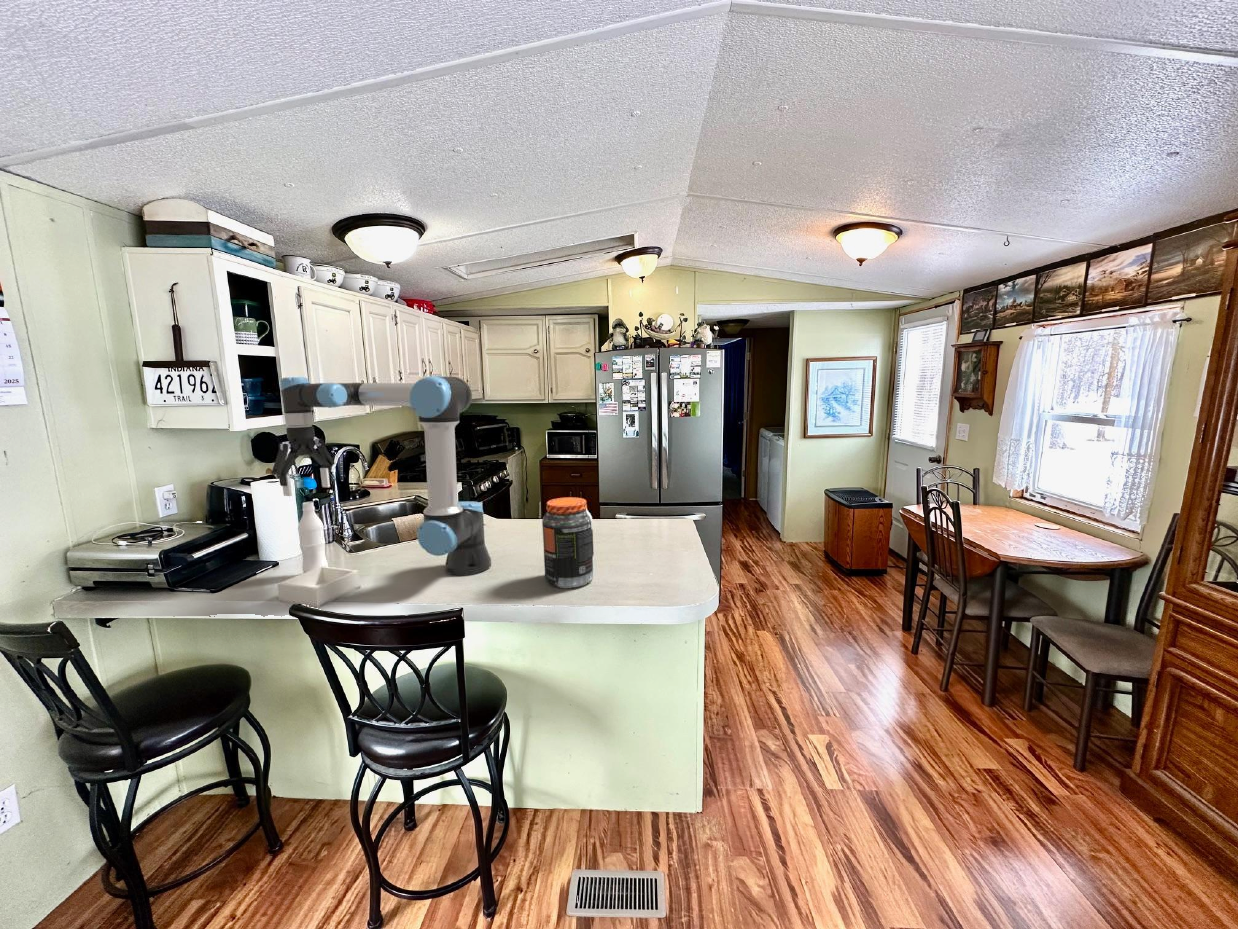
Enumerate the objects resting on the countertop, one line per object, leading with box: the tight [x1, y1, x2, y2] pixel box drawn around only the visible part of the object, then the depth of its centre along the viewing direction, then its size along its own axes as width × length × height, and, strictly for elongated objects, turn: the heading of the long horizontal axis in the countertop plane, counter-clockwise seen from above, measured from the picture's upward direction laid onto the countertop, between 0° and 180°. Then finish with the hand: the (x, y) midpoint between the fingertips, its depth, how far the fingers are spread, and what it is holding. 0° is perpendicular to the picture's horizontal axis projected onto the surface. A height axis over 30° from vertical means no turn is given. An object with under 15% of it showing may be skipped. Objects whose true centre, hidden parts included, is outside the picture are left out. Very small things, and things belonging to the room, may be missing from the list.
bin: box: [277, 566, 361, 609], centre depth 151 cm, size 15×15×6 cm
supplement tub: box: [541, 496, 595, 589], centre depth 158 cm, size 16×16×26 cm
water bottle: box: [297, 501, 329, 573], centre depth 165 cm, size 7×7×25 cm
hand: (307, 491), depth 163 cm, fingers open, 13 cm apart
